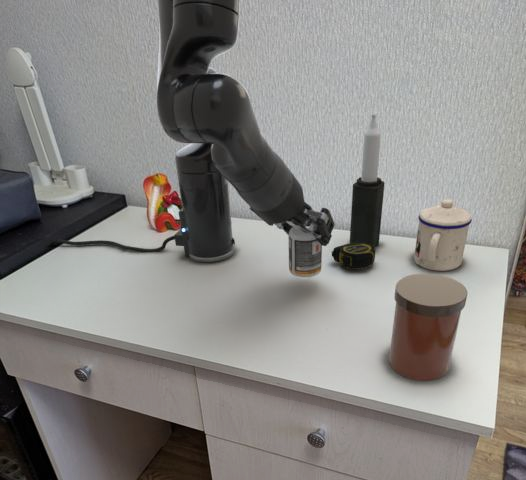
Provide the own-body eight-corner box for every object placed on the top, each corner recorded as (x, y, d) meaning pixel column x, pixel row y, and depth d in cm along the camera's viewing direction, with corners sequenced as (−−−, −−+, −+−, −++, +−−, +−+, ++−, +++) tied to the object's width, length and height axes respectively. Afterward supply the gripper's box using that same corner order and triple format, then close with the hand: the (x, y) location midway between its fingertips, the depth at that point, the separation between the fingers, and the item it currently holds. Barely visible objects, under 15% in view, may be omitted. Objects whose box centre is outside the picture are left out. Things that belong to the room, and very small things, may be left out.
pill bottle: (327, 269, 87) (330, 214, 81) (308, 282, 83) (309, 225, 77) (301, 261, 90) (302, 207, 84) (281, 272, 86) (281, 217, 80)
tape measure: (361, 255, 97) (362, 237, 95) (381, 268, 92) (383, 249, 90) (331, 262, 95) (331, 244, 93) (349, 276, 90) (351, 257, 88)
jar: (384, 377, 66) (393, 302, 59) (389, 341, 73) (397, 271, 66) (451, 386, 64) (469, 309, 57) (450, 349, 70) (466, 276, 64)
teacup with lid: (419, 248, 99) (428, 190, 92) (467, 256, 95) (479, 195, 88) (402, 273, 90) (410, 211, 83) (453, 282, 86) (466, 218, 80)
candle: (371, 253, 98) (382, 116, 83) (347, 248, 100) (354, 114, 86) (380, 244, 101) (393, 110, 87) (357, 239, 104) (366, 109, 89)
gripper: (321, 168, 66) (356, 225, 81) (238, 155, 73) (284, 209, 88) (299, 219, 66) (339, 266, 80) (218, 201, 73) (268, 247, 88)
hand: (310, 236), depth 84 cm, fingers closed on pill bottle, 5 cm apart
